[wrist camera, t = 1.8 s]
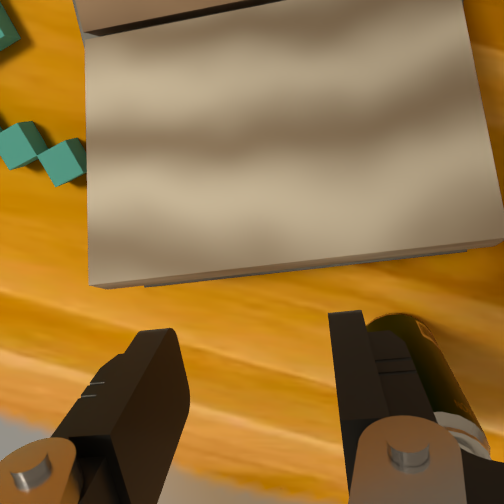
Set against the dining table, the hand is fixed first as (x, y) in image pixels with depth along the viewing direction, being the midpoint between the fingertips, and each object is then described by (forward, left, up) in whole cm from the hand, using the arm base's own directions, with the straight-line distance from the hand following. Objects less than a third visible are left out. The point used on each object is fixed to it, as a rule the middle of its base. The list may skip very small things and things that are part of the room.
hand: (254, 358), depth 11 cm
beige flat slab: (-3, 0, -17) cm, 17 cm away
